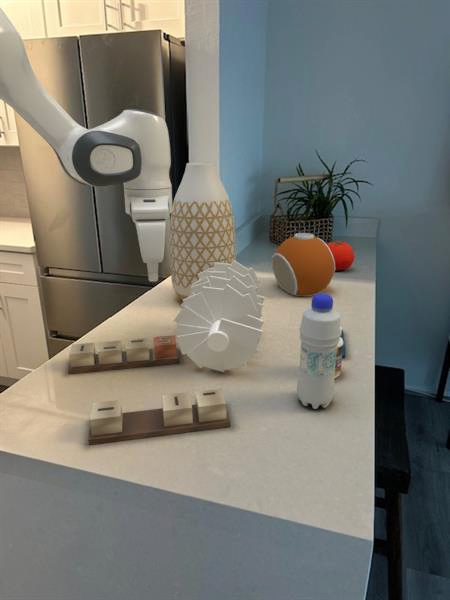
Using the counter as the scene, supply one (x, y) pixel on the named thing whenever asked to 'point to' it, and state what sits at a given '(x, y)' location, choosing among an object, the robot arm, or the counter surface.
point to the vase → (199, 227)
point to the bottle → (318, 352)
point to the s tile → (165, 347)
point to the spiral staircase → (221, 318)
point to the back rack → (114, 356)
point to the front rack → (158, 417)
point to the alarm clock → (303, 265)
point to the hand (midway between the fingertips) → (152, 273)
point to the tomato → (341, 254)
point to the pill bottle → (338, 357)
